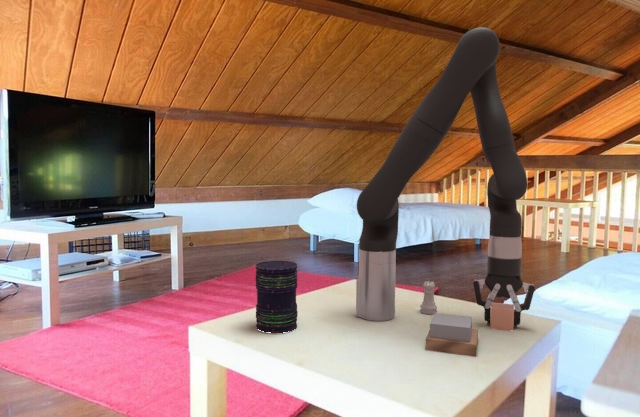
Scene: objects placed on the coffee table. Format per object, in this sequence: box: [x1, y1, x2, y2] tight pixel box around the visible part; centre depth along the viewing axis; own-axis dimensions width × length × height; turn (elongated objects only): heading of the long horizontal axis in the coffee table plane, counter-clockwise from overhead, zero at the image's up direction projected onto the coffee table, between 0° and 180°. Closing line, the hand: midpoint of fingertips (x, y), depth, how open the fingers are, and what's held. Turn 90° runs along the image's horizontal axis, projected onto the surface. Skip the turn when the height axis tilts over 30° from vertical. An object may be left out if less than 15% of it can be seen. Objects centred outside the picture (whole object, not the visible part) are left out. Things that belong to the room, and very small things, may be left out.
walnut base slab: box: [425, 328, 479, 358], centre depth 103 cm, size 10×10×3 cm
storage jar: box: [255, 260, 299, 334], centre depth 114 cm, size 10×10×15 cm
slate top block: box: [429, 312, 473, 342], centre depth 103 cm, size 8×8×3 cm
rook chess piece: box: [419, 280, 438, 315], centre depth 126 cm, size 4×4×8 cm
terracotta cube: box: [490, 301, 515, 331], centre depth 115 cm, size 5×5×5 cm
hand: (502, 324), depth 115 cm, fingers open, 5 cm apart
